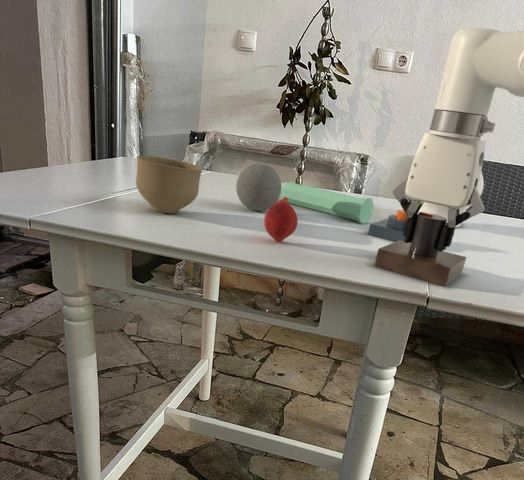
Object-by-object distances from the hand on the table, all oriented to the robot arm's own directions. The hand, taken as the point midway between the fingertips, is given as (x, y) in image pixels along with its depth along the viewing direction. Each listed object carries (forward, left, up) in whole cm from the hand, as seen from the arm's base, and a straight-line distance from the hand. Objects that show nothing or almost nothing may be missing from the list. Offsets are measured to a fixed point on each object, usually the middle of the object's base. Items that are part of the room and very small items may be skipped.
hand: (425, 244), depth 84 cm
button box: (+11, -21, -4) cm, 24 cm away
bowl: (+50, +8, -5) cm, 51 cm away
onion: (+24, +7, -5) cm, 25 cm away
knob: (0, 0, -1) cm, 1 cm away
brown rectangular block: (0, 0, -4) cm, 4 cm away
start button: (+11, -21, -1) cm, 24 cm away
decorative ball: (+42, -12, -5) cm, 44 cm away
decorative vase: (+12, -49, -5) cm, 51 cm away
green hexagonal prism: (+34, -28, -5) cm, 44 cm away
